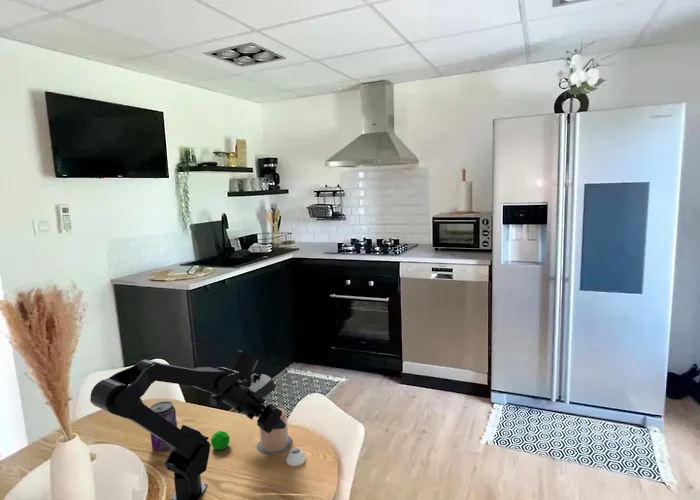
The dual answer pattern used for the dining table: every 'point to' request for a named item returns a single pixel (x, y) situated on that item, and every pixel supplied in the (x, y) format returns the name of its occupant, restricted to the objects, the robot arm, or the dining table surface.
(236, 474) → the dining table surface
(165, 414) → the beverage can
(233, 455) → the dining table surface
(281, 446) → the cover cup
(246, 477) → the dining table surface
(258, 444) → the rubber mat
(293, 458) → the white tapered ring
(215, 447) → the polyhedron
